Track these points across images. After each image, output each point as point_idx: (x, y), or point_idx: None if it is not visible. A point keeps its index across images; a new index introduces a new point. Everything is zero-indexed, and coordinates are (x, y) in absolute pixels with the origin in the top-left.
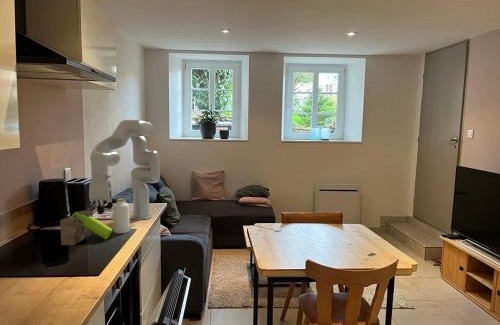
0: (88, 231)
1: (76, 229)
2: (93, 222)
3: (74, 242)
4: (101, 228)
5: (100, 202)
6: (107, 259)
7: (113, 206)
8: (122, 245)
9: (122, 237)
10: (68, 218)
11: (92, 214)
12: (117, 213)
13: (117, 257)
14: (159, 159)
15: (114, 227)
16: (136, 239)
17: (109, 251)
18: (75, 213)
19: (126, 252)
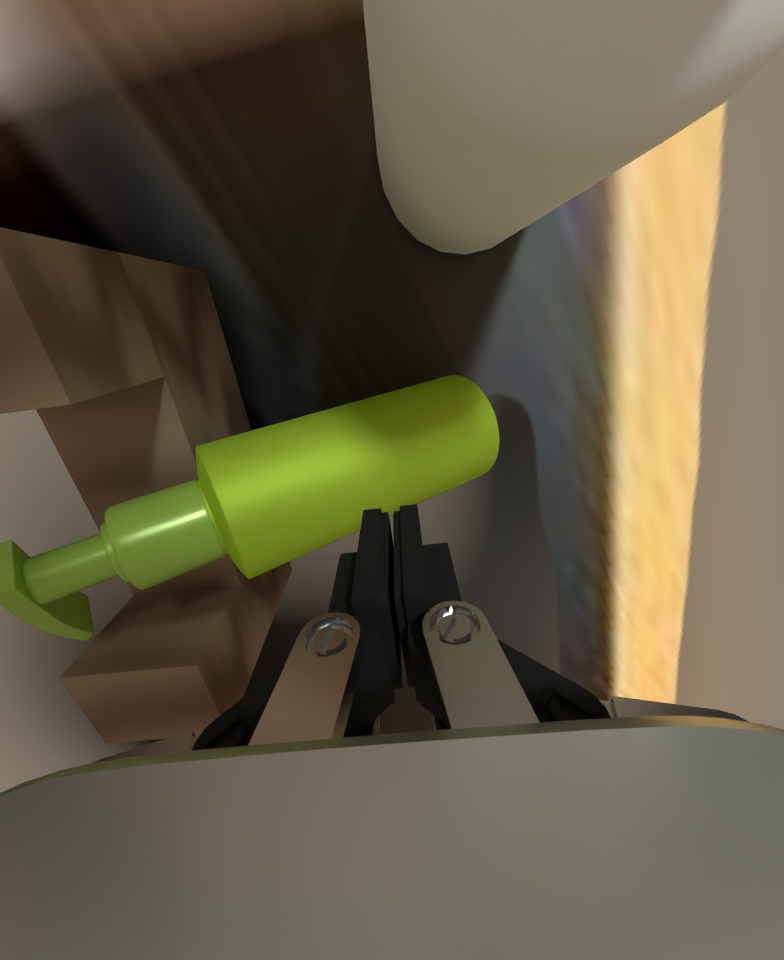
0: (216, 376)
1: (248, 602)
2: (334, 540)
3: (284, 569)
4: (421, 501)
5: (352, 669)
6: (591, 692)
7: (455, 78)
8: (604, 519)
9: (542, 345)
10: (108, 685)
11: (51, 250)
12: (537, 200)
13: (632, 669)
14: None
15: (427, 235)
16: (679, 375)
17: (560, 614)
18: (36, 611)
19: (662, 611)
